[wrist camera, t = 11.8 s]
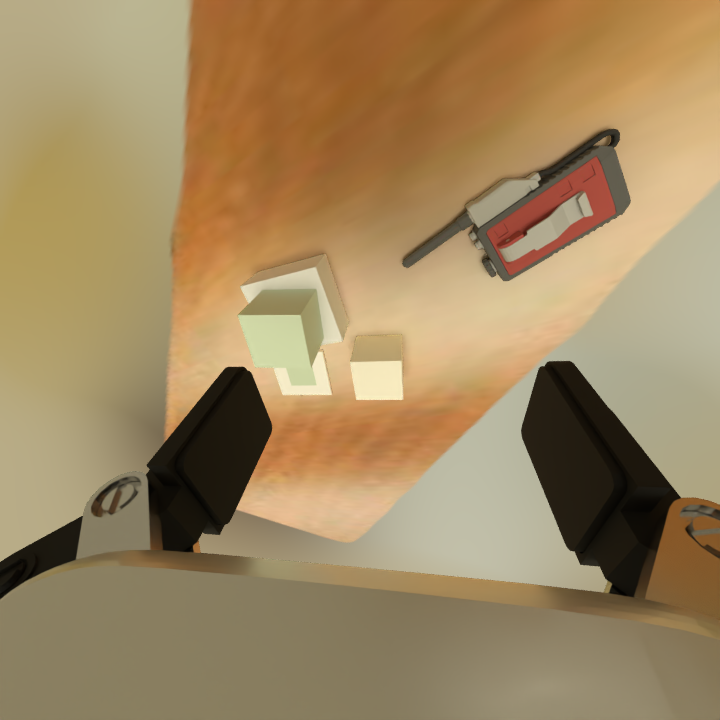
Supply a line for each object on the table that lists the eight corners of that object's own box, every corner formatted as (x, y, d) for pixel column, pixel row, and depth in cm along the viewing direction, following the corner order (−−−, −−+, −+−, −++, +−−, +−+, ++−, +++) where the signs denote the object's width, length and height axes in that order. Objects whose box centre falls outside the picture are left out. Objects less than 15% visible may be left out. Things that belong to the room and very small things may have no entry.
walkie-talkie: (599, 102, 24) (397, 254, 33) (632, 95, 21) (397, 267, 30) (628, 197, 28) (438, 311, 37) (661, 205, 24) (442, 329, 33)
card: (269, 351, 43) (268, 353, 42) (323, 349, 42) (322, 352, 41) (283, 392, 47) (282, 395, 47) (332, 392, 46) (331, 395, 46)
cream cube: (356, 335, 40) (350, 362, 35) (401, 334, 39) (401, 360, 34) (361, 371, 43) (356, 399, 38) (403, 370, 42) (403, 399, 37)
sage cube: (262, 289, 32) (237, 315, 27) (316, 288, 31) (300, 315, 26) (275, 337, 36) (255, 367, 31) (324, 337, 35) (311, 368, 30)
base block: (258, 271, 36) (239, 286, 32) (326, 252, 34) (315, 267, 30) (287, 333, 41) (275, 353, 37) (349, 321, 39) (342, 341, 35)
